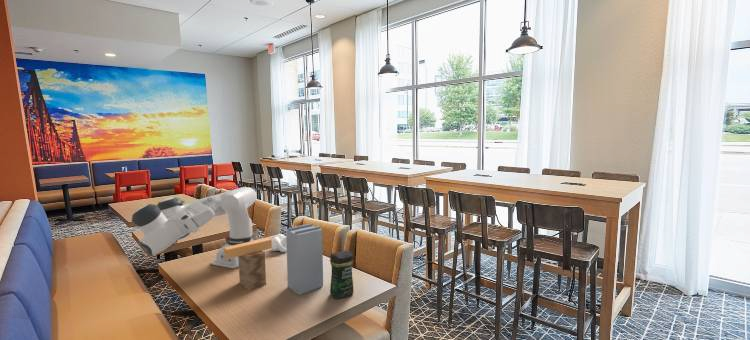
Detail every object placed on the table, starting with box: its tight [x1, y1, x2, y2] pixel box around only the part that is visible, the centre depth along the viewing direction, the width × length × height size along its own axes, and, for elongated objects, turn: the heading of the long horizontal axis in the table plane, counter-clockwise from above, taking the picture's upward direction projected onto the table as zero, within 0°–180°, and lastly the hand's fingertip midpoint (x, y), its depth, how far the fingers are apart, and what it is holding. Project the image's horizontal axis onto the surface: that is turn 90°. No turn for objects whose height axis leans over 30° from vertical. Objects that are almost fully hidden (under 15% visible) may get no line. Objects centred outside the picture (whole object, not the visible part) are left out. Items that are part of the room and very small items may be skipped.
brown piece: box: [238, 250, 267, 291], centre depth 156 cm, size 8×10×15 cm
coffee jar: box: [329, 249, 355, 299], centre depth 146 cm, size 10×8×19 cm
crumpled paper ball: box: [271, 233, 287, 253], centre depth 200 cm, size 11×12×9 cm
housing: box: [285, 222, 324, 295], centre depth 153 cm, size 12×10×27 cm
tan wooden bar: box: [224, 237, 273, 259], centre depth 155 cm, size 20×4×4 cm, turn 133°
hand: (215, 200), depth 143 cm, fingers open, 8 cm apart
